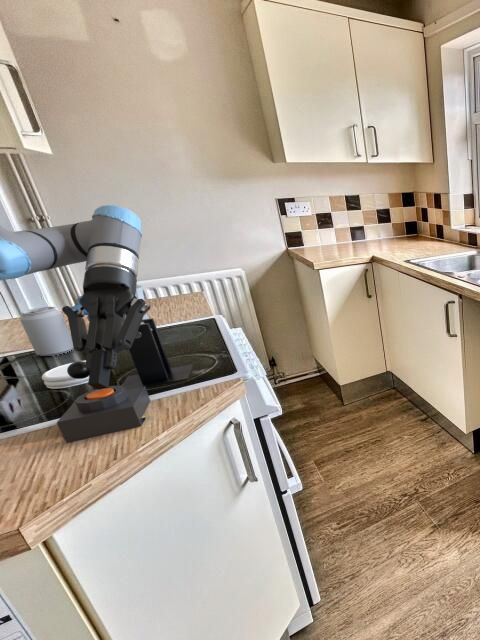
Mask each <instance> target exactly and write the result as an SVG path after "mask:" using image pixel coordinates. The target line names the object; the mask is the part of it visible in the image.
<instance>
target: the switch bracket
mask: <svg viewBox="0 0 480 640" xmlns="http://www.w3.org/2000/svg"><path fill="white" fill-rule="evenodd" d="M141 322H144V323H145V324H140V326H139V329H138V331H137V334H136V336H135V339H134V341H133V344H132V346H131V348H130V349H128V351H129V353H130V357H131V359H132V362H133V364H134V366H135V370H136V373H137V374H133V375H128V376H127V377H126V378H125V380H124V381H123V383H122V384H121V386H123V387H124V388H125V389H126V390H129V389H134V388H139V387H146V389H147V388H152V387H156V386H161V385H166V384H167V385H168V384H172V383H176V382H182V381H187V380H189V378H190V376H191V373H192V371H193V368H194V366H195V365H194V364H193V363H192V364H187V365H181V366H176V367H171V365H170V362H169V358H168V355H167V353H166V350H165V347H164V345H163V342H162V339H161V336H160V333H159V331H158V328H157V325H156V323H155V319H154V318H153V317H151V318H149V319H143V320H142V321H141ZM151 329H152V330H151Z"/></svg>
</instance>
